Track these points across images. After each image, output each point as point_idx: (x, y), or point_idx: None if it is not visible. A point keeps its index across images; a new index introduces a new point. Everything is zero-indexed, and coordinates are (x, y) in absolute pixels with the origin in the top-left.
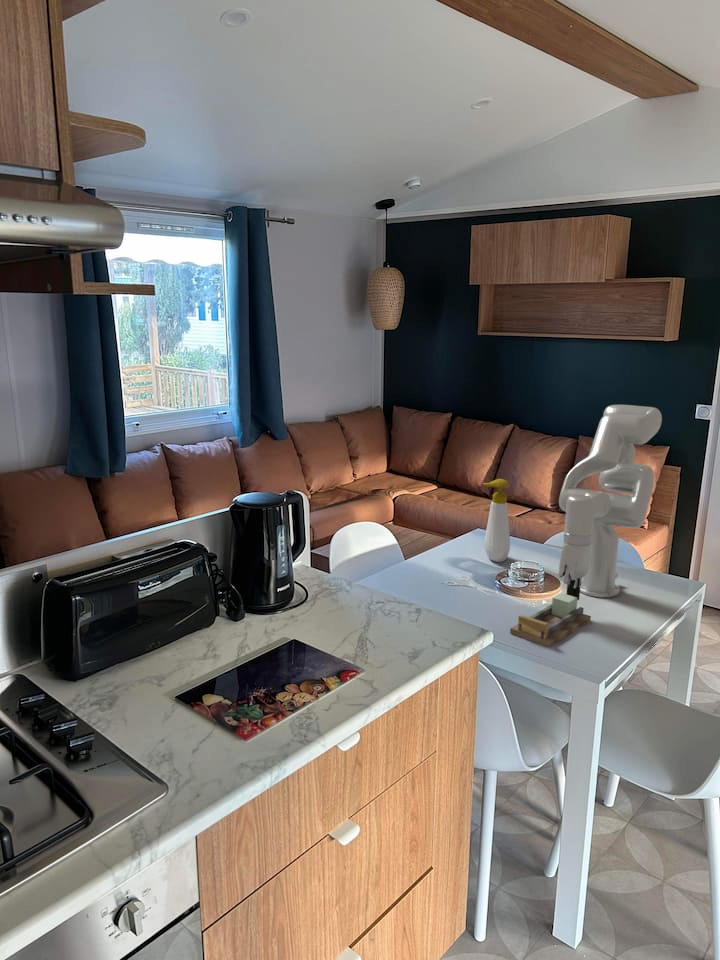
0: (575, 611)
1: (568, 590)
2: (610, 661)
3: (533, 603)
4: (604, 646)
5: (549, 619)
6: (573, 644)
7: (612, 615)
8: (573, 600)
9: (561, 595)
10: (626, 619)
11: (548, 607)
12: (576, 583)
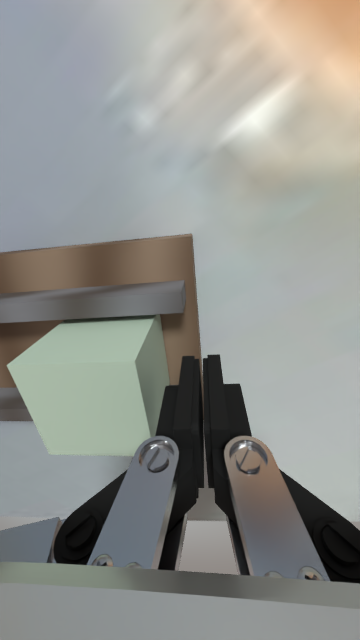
0: None
1: (159, 420)
2: (36, 507)
3: (183, 78)
4: (83, 482)
5: (30, 333)
6: (16, 436)
7: (316, 431)
8: (106, 451)
9: (94, 385)
10: (310, 466)
11: (44, 309)
12: (163, 554)
